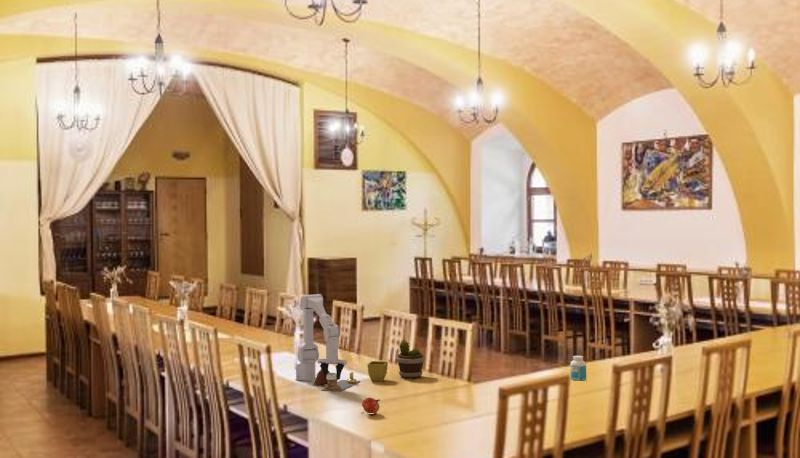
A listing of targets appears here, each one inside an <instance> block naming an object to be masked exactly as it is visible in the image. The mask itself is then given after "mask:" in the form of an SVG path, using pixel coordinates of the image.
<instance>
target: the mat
mask: <svg viewBox="0 0 800 458" xmlns="http://www.w3.org/2000/svg"><path fill="white" fill-rule="evenodd" d="M360 382H361V380H356V383H353V384H349V383H347V379H341V380H340V379H339V380H337V385H340V388H339V389H325V387H324V388H322V389H321V391H324V392H325V391H326V392H339V393H341V392H342V391H345V390H347V389H348V388H351V387H353V386H354V385H356V384H359V383H360Z"/></svg>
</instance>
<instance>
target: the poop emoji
mask: <svg viewBox="0 0 800 458" xmlns="http://www.w3.org/2000/svg"><path fill="white" fill-rule="evenodd" d="M328 373H331V372H330V371H329V370H328ZM313 384H314V385H315V386H319V387H322V386H326V385H328V379H325V377H324V373H323V371H322V369H321V368H320V370H318V372H317V373H316V379H315V380H313Z"/></svg>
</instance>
